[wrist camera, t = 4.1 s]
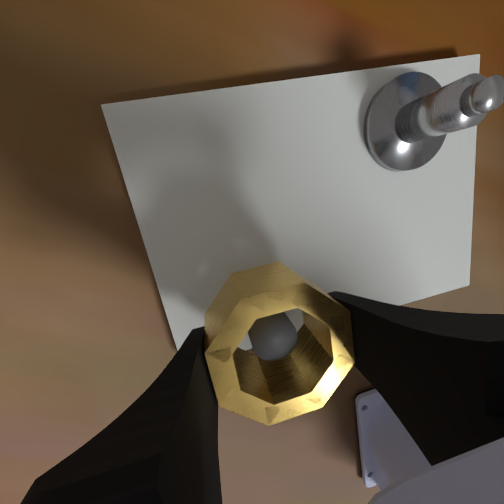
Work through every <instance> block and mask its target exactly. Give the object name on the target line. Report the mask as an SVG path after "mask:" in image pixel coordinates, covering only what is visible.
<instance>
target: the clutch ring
mask: <svg viewBox="0 0 504 504" xmlns="http://www.w3.org/2000/svg"><path fill="white" fill-rule="evenodd" d="M295 308H300V309H301V310H302V316H303V322H304V324H303V325H302V326H301V328H300V329H299V331H298V332H297V343H296V345H295V347H294V349H293V350H292V351H291V353H290V354H288V355H287V356H286V357H284V358H282V359H279V360H275V361H267V360H264V359H261V358H260V357H258V356H256V355H253V354H251V353H249V352H247V351H245V350H243V349H241V348H239V347H238V345H239V344H240V342H241V341H242V340H243V338H244V337H245V335H246V334H247V332H248V331H249V329H250V328H251V326H252V325H253V323H254V322H255V320H256V319H259V318H263V317H266V316H270V315H273V314H277V313H281V312H284V311H288V310H291V309H295ZM204 329H205V330H204V354H205V357H206V361H207V364H208V368H209V371H210V375H211V379H212V382H213V386H214V389H215V393H216V396H217V400H218V404H219V406H220V407H222V408H225V409H227V410H230V411H232V412H235V413H237V414H240V415H242V416H245V417H248V418H250V419H253V420H255V421H258V422H260V423H263V424H265V425H268V426H270V425H273V424H276V423H279V422H281V421H284V420H287V419H290V418H293V417H296V416H299V415H302V414H305V413H307V412H310V411H313V410H316V409H319V408H322V407H323V406H324V405H325V403H326V402H327V400H328V399H329V398H330V396H331V395H332V394H333V392H334V391H335V389H336V388H337V387H338V385H339V384H340V383H341V381H342V380H343V378H344V377H345V376H346V374H347V373H348V372H349V370H350V369H351V367H352V366H353V365H354V363H355V355H354V344H353V334H352V324H351V314H350V311H349V310H348V309H347V308H345V307H344V306H343V305H341V304H340V303H339V302H338V301H336V300H335V299H334V298H332V297H331V296H330V295H328V294H327V293H326V292H324V291H323V290H322V289H321V288H319V287H318V286H317V285H315V284H314V283H312V282H311V281H309V280H307V279H306V278H304V277H303V276H301V275H300V274H298V273H297V272H295V271H293V270H292V269H290V268H289V267H287V266H286V265H284V264H282V263H281V262H279V261H278V262H274V263H270V264H266V265H262V266H258V267H254V268H250V269H246V270H241V271H237V272H233V273H231V274H230V276H229V277H228V279H227V280H226V282H225V283H224V285H223V286H222V288H221V290H220V291H219V293H218V294H217V296H216V297H215V299H214V300H213V302H212V303H211V305H210V306H209V308H208V309H207V311H206V312H205V328H204Z"/></svg>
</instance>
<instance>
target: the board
mask: <svg viewBox="0 0 504 504" xmlns="http://www.w3.org/2000/svg"><path fill="white" fill-rule="evenodd" d="M479 66H480V54H477V55H469V56H462V57H454V58H447V59H439V60H432V61H424V62H417V63H409V64H402V65H394V66H387V67H379V68H372V69H364V70H357V71H349V72H342V73H334V74H327V75H319V76H311V77H304V78H296V79H289V80H281V81H274V82H266V83H259V84H251V85H244V86H236V87H229V88H221V89H214V90H206V91H199V92H191V93H184V94H176V95H169V96H161V97H154V98H146V99H139V100H131V101H124V102H116V103H109V104H101V107H102V110H103V114H104V117H105V120H106V123H107V126H108V130H109V133H110V136H111V139H112V142H113V146H114V149H115V152H116V155H117V158H118V162H119V165H120V168H121V171H122V174H123V178H124V181H125V184H126V187H127V190H128V194H129V197H130V200H131V203H132V207H133V210H134V213H135V216H136V219H137V223H138V226H139V229H140V232H141V235H142V239H143V242H144V245H145V248H146V251H147V255H148V258H149V261H150V264H151V267H152V271H153V274H154V277H155V280H156V283H157V287H158V290H159V293H160V296H161V299H162V303H163V306H164V309H165V312H166V315H167V319H168V322H169V325H170V328H171V331H172V335H173V338H174V341H175V344H176V347H177V351H178V350H179V349H180V347H181V346H182V344H183V342H184V341H185V339H186V338H187V336H188V335H189V333H190V332H191V330H192V329H195V328H199V327H203V326H205V312H206V311H207V309H208V308H209V306H210V305H211V303H212V302H213V300H214V299H215V297H216V296H217V294H218V293H219V291H220V290H221V288H222V286H223V285H224V283H225V282H226V280H227V279H228V277H229V276H230V274H231V273H233V272H237V271H241V270H246V269H250V268H254V267H258V266H262V265H266V264H270V263H274V262H278V261H279V262H281V263H282V264H284V265H286V266H287V267H289V268H290V269H292V270H293V271H295V272H297V273H298V274H300V275H301V276H303V277H304V278H306V279H307V280H309V281H311V282H312V283H314V284H315V285H317V286H318V287H319V288H321V289H322V290H323V291H324V292H326V293H330V292H333V291H338V292H344V293H348V294H352V295H356V296H360V297H364V298H367V299H371V300H375V301H380V302H384V303H389V304H393V305H398V306H399V305H403V304H406V303H410V302H413V301H417V300H420V299H423V298H427V297H430V296H434V295H437V294H441V293H444V292H448V291H451V290H454V289H458V288H461V287H465V286H468V285H469V283H470V261H471V239H472V218H473V196H474V174H475V153H476V131H477V125H476V126H473V127H470V128H466V129H462V130H458V131H455V132H451V133H447V135H446V138H445V140H444V142H443V144H442V146H441V148H440V150H439V151H438V152H437V154H436V155H435V156H434V157H433V158H432V159H431V160H430V161H429V162H428V163H426V164H425V165H423V166H421V167H419V168H417V169H413V170H407V171H399V172H397V171H389V170H387V169H384V168H383V167H381V166H380V165H378V164H377V163H376V162H375V161H374V160H373V158H372V157H371V156H370V154H369V152H368V150H367V147H366V144H365V140H364V119H365V114H366V111H367V108H368V106H369V104H370V101H371V100H372V98H373V96H374V95H375V94H376V92H377V91H378V90H379V89H380V88H381V87H382V86H384V85H385V84H386V83H388V82H389V81H391V80H392V79H394V78H396V77H397V76H399V75H401V74H404V73H407V72H422V73H426V74H428V75H430V76H431V77H433V78H434V79H435V80H436V81H437V82H438V83H439V84H440V85H441V87H443V86H445V85H447V84H450V83H452V82H454V81H456V80H458V79H460V78H462V77H464V76H467V75H469V74H472V73H478V74H479ZM303 324H304V322H303V316H302V310H301V309H300V308H295V309H291V310H288V311H284V312H281V313H277V314H273V315H270V316H266V317H263V318H259V319H256V320H255V322H254V323H253V325H252V326H251V328H250V329H249V331H248V332H247V334H246V335H245V337H244V338H243V340H242V341H241V342H240V344H239V345H238V347H239V348H241V349H243V350H248V349H252V348H253V350H254V352H255V354H256V355H257V356H258V357H260V358H261V359H264V360H267V361H275V360H279V359H282V358H284V357H286V356H287V355H288V354H290V353H291V351H292V350H293V349H294V347H295V345H296V343H297V332H298V331H299V329H300V328H301V326H302V325H303Z"/></svg>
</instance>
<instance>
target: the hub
mask: <svg viewBox="0 0 504 504" xmlns="http://www.w3.org/2000/svg"><path fill="white" fill-rule="evenodd" d="M503 102H504V78H503V77H502V76H500V75H493V76H490V77H488V78H485V77H484V76H483V75H481V74H478V73H472V74H469V75H467V76H464V77H462V78H460V79H458V80H456V81H454V82H452V83H450V84H447V85H445V86H443V87H441V85H440V84H439V83H438V82H437V81H436V80H435V79H434V78H433V77H431V76H430V75H428V74H426V73H422V72H407V73H404V74H401V75H399V76H397V77H396V78H394V79H392V80H391V81H389V82H388V83H386V84H385V85H384V86H382V87H381V88H380V89H379V90H378V91H377V92H376V94H375V95H374V96H373V98H372V100H371V101H370V104H369V106H368V108H367V111H366V114H365V119H364V140H365V144H366V147H367V150H368V152H369V154H370V156H371V157H372V158H373V160H374V161H375V162H376V163H377V164H378V165H380V166H381V167H383V168H384V169H387V170H389V171H397V172H399V171H407V170H413V169H417V168H419V167H421V166H423V165H425V164H426V163H428V162H429V161H430V160H431V159H432V158H433V157H434V156H435V155H436V154H437V152H438V151H439V150H440V148H441V146H442V144H443V142H444V140H445V138H446V135H447V133H451V132H455V131H458V130H462V129H466V128H470V127H473V126H476V125H477V124H479V123H480V122H481V121H482V120H483V119H484V118H485V116H486V115H487V113H488V112H489V111H492V110H495V109H497V108H499V107H500V106H501V105H502V104H503Z"/></svg>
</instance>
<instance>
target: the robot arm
mask: <svg viewBox="0 0 504 504" xmlns="http://www.w3.org/2000/svg"><path fill="white" fill-rule="evenodd" d="M327 294H328V295H330V296H331V297H332V298H334V299H335V300H336V301H338V302H339V303H340V304H341V305H343V306H344V307H345V308H347V309H348V310H349V311H350V314H351V324H352V334H353V344H354V355H355V363H354V365H355V366H356V368H357V369H358V370H359V371H360V372H361V373H362V374H363V375H364V376H365V377H366V379H367V380H368V381H369V382H370V383H371V384H372V385H373V386H374V388H375V389H373V390H370V391H367V392H364V393H361V394H359V395H358V396H357V397H356V399H355V405H356V415H357V425H358V435H359V445H360V456H361V466H362V476H363V482H364V484H365V486H366V487H369V488H370V487H373V486H375V485H378V486H379V488H380V490H381V491H380V492H378V493H377V494H375V495H374V497H373V498H372V499H371V500H370V502H369V503H368V504H504V314H469V313H453V312H440V311H430V310H423V309H416V308H409V307H403V306H398V305H393V304H389V303H384V302H380V301H375V300H371V299H367V298H364V297H360V296H356V295H352V294H348V293H344V292H338V291H333V292H330V293H327ZM204 328H205V326H203V327H199V328H195V329H192V330H191V332H190V333H189V335H188V336H187V338H186V339H185V341H184V342H183V344H182V346H181V347H180V349H179V350H178V351H177V353H176V354H175V356H174V357H173V359H172V360H171V361H170V362H169V364H168V365H167V366H166V368H165V369H164V370H163V372H162V373H161V374H160V375H159V377H158V378H157V379H156V380H155V381H154V382H153V383H152V384H151V386H150V387H149V388H148V389H147V390H146V391H145V392H144V393H143V394H142V395H141V396H140V397H139V398H138V399H137V400H136V401H135V402H134V403H133V404H132V405H131V406H129V407H128V408H127V409H126V410H125V411H124V412H123V413H122V414H121V415H120V416H119V417H118V418H117V419H115V420H114V421H113V422H112V423H111V424H109V425H108V426H107V427H106V428H105V429H103V430H102V431H101V432H100V433H98V434H97V435H96V436H95V437H93V438H92V439H91V440H90V441H88V442H87V443H86V444H84V445H83V446H82V447H81V448H79V449H78V450H76V451H75V452H74V453H72V454H71V455H69V456H68V457H67V458H65V459H64V460H62V461H61V462H60V463H58V464H57V465H55V466H54V467H53V468H51V469H50V470H48V471H47V472H46V473H44V474H43V475H41V476H40V477H38V478H37V479H36V480H35V481H34V483H33V484H32V486H31V487H30V489H29V491H28V492H27V494H26V495H25V497H24V499H23V500H22V502H21V504H222V495H221V483H220V471H219V458H218V400H217V396H216V393H215V389H214V386H213V382H212V379H211V375H210V371H209V368H208V364H207V361H206V357H205V354H204V330H205V329H204Z"/></svg>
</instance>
